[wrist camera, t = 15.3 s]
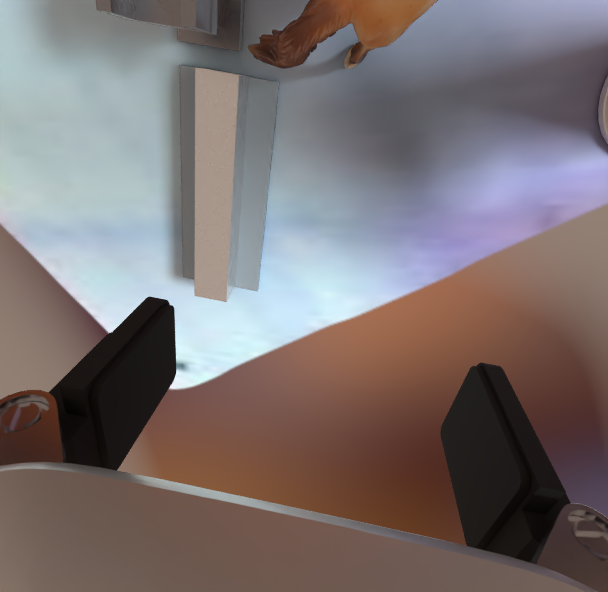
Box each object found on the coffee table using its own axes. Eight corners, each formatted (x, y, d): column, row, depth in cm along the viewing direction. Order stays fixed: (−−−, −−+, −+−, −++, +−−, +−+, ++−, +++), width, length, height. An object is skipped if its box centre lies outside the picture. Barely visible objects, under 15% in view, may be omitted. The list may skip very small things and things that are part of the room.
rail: (249, 76, 36) (238, 75, 33) (235, 286, 48) (226, 301, 45) (210, 69, 37) (195, 67, 33) (206, 280, 49) (194, 295, 45)
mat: (279, 82, 37) (278, 82, 36) (258, 289, 49) (257, 291, 48) (181, 65, 37) (179, 64, 37) (184, 274, 49) (183, 277, 49)
